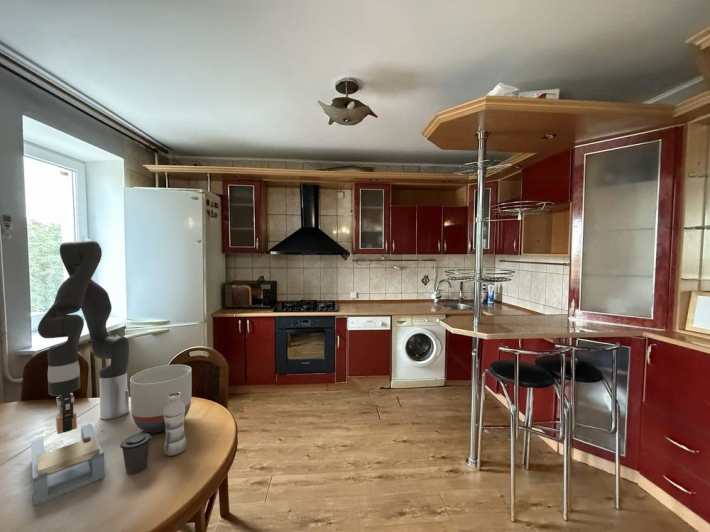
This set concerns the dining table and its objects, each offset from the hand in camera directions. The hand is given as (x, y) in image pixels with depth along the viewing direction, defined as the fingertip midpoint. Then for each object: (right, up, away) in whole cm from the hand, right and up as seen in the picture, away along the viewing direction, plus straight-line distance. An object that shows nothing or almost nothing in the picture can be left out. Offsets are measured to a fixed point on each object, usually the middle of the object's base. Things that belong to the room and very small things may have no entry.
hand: (66, 427), depth 100 cm
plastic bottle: (+32, -11, +5) cm, 35 cm away
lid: (+9, -5, -8) cm, 13 cm away
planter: (+18, -11, +21) cm, 30 cm away
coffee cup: (+25, -12, -3) cm, 28 cm away
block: (0, 0, 0) cm, 0 cm away
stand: (+3, -11, -3) cm, 12 cm away
